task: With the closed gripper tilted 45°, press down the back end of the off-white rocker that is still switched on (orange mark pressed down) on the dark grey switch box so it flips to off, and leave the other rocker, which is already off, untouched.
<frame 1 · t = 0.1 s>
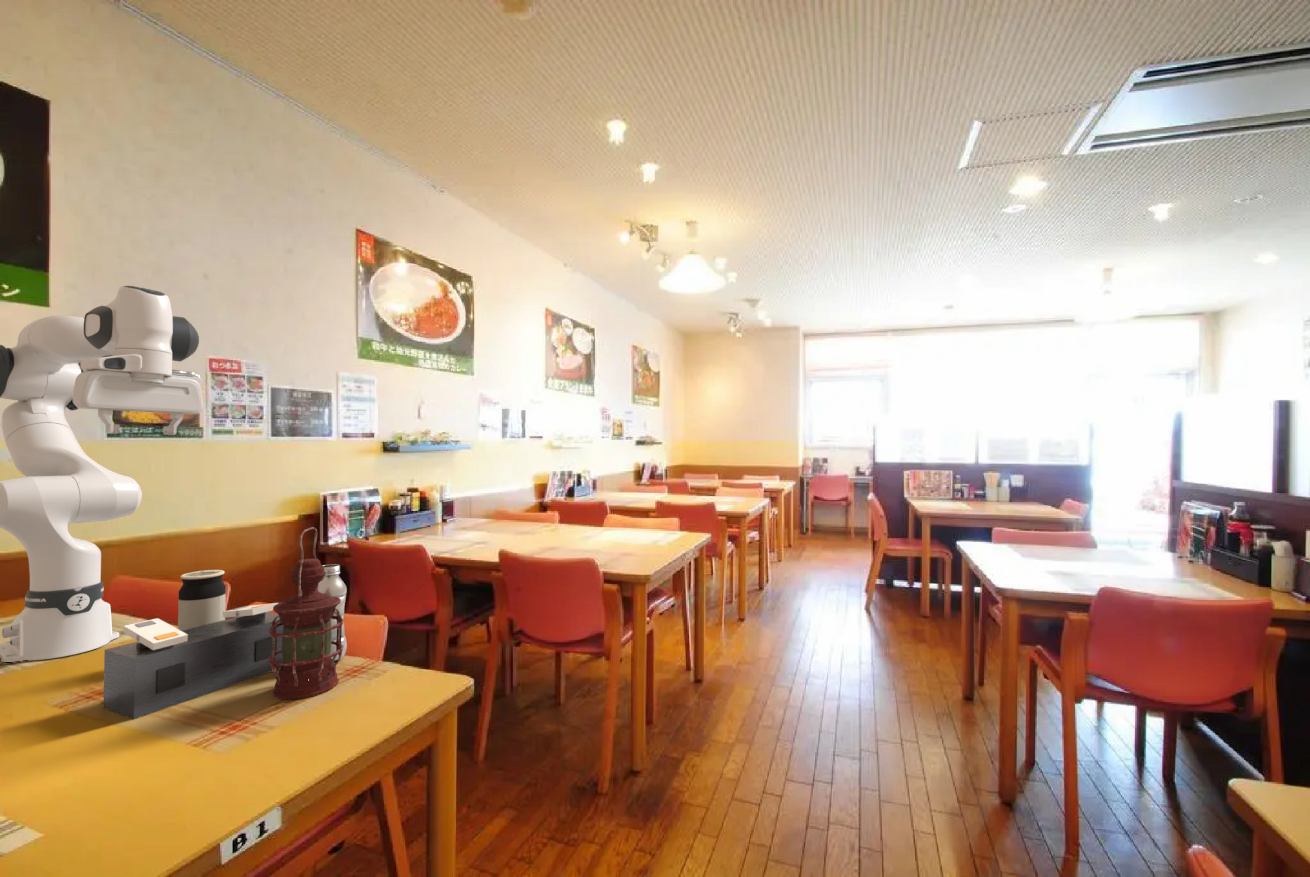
hand: (142, 434, 115), 48 cm above the table, tool pointing down, fingers open, 8 cm apart
travel mug: (201, 657, 122), on the table
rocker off: (250, 609, 115), point 12 cm above the table, hinge at -10.0°
switch box: (205, 684, 108), on the table
lantern: (306, 688, 106), on the table
plastic bottle: (329, 661, 120), on the table
rocker on: (155, 633, 101), point 12 cm above the table, hinge at 10.0°
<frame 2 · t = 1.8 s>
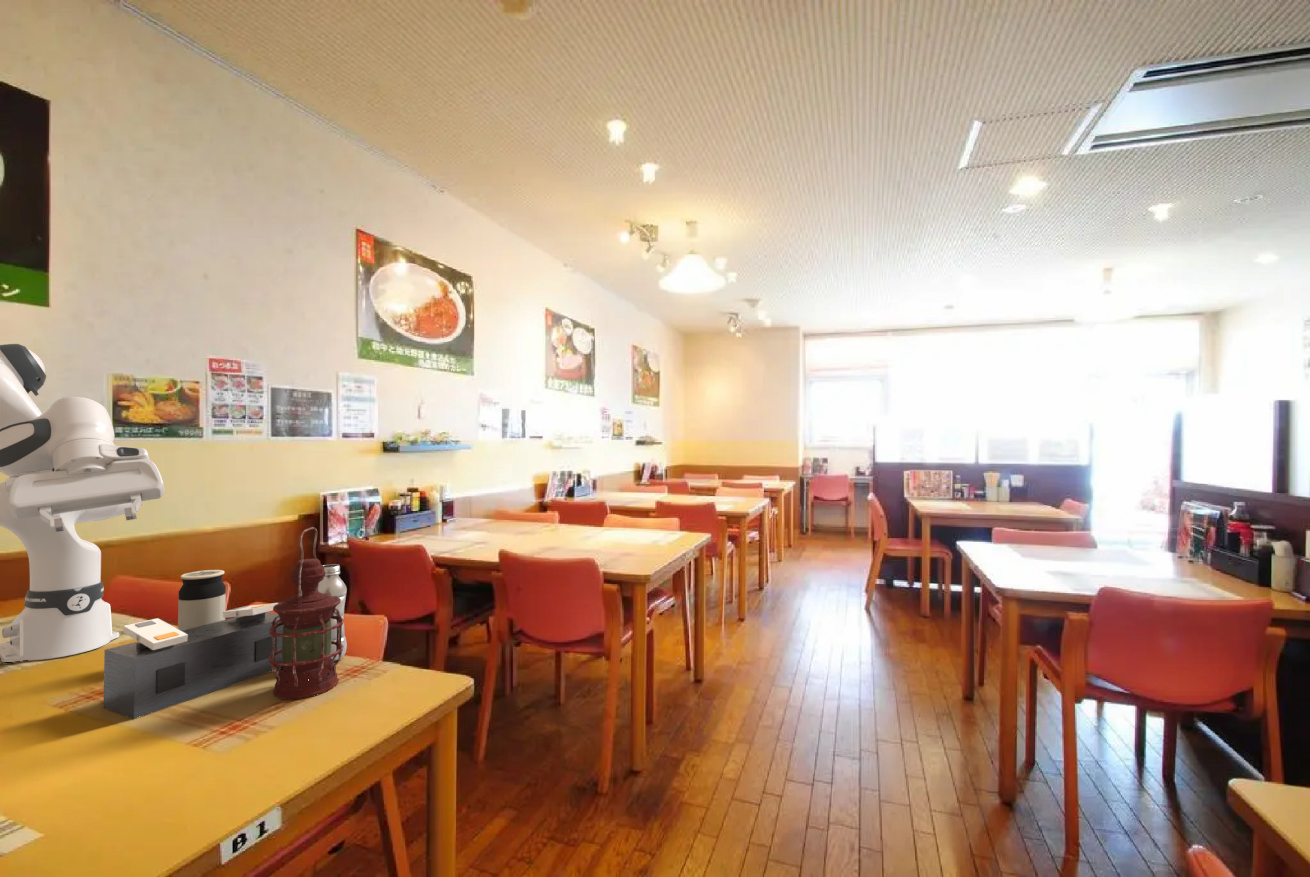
hand: (95, 523, 101), 32 cm above the table, tool tilted 40°, fingers open, 8 cm apart
nothing on the table moved.
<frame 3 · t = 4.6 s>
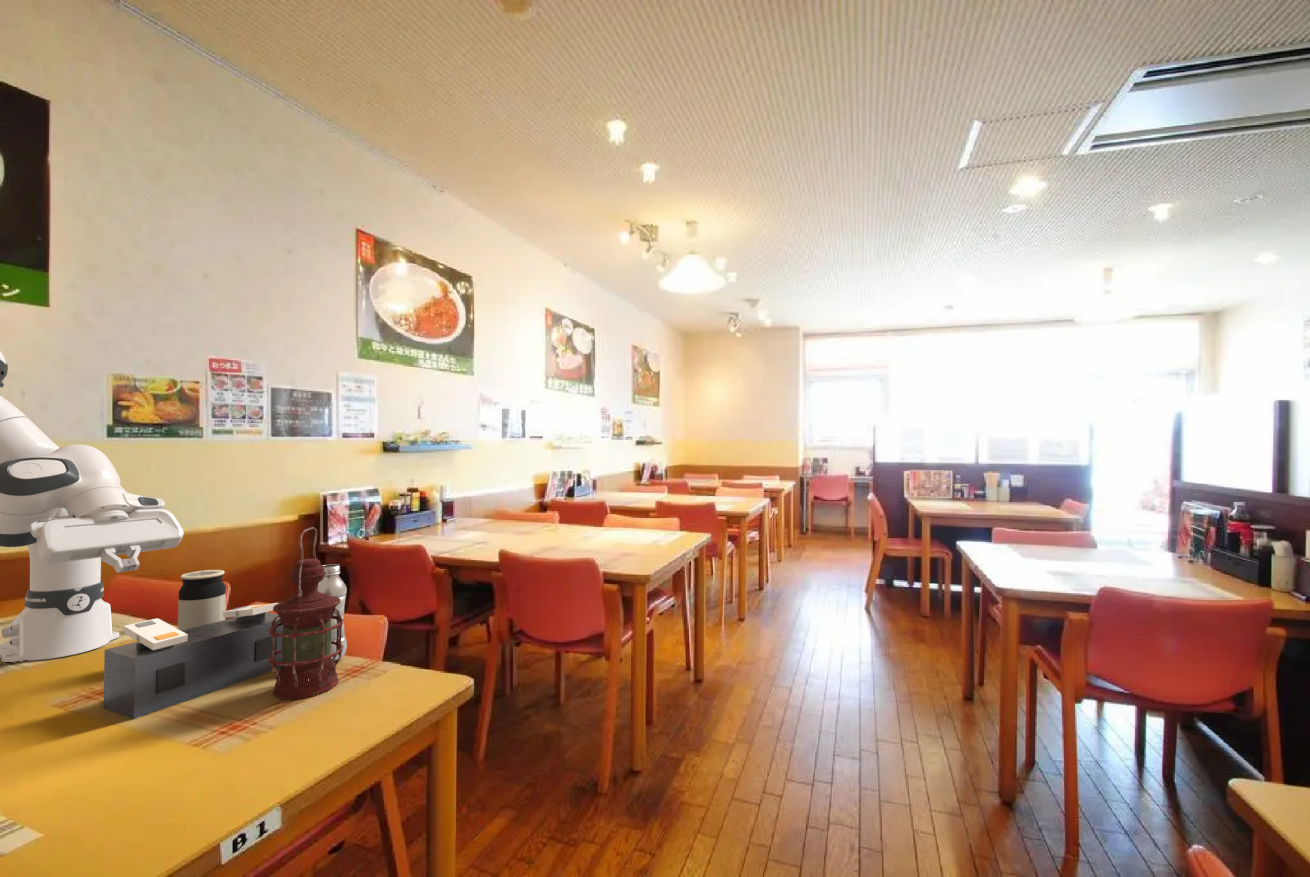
hand: (128, 569, 104), 23 cm above the table, tool tilted 45°, fingers closed
nothing on the table moved.
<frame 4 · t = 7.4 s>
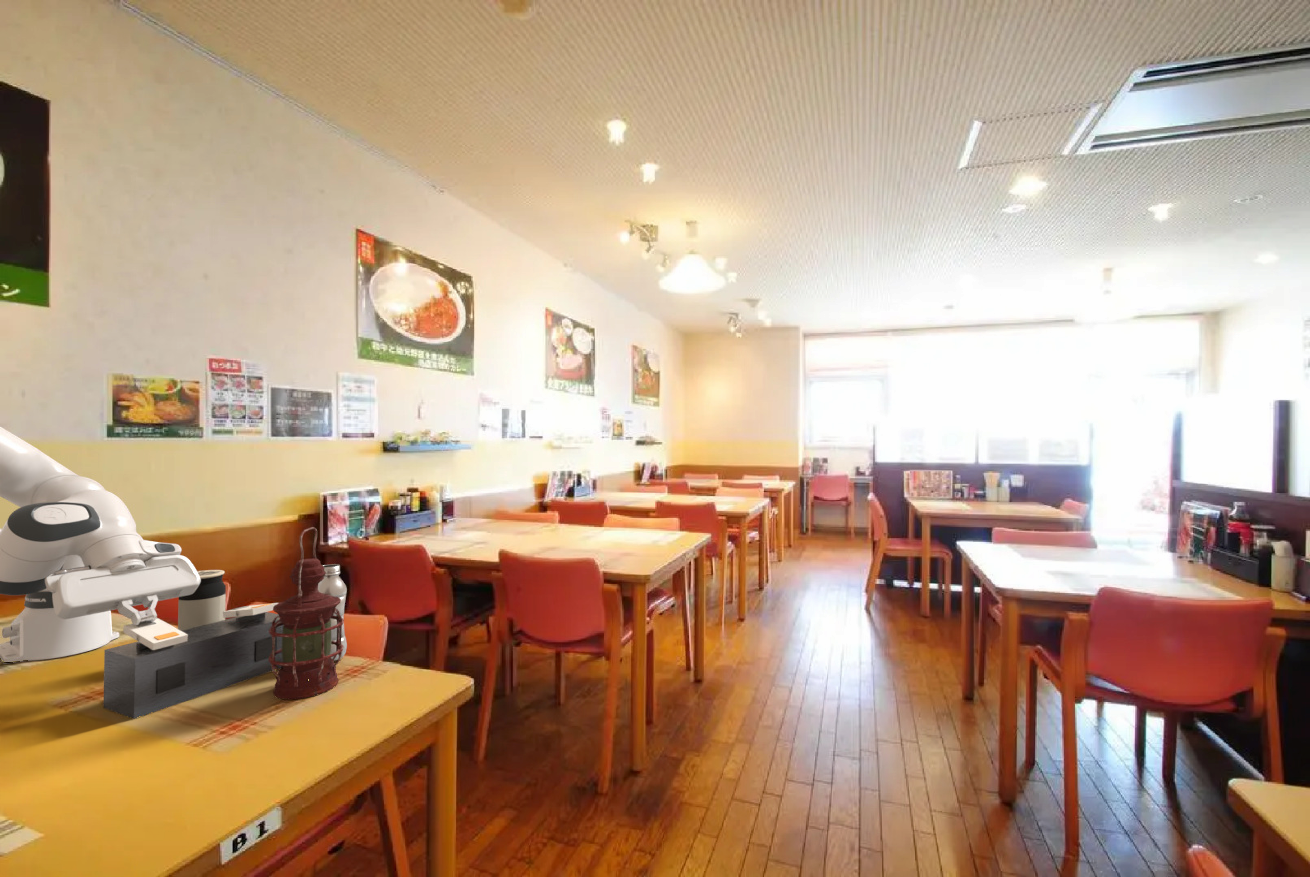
hand: (146, 621, 101), 14 cm above the table, tool tilted 45°, fingers closed, pressing on rocker on
rocker on: (155, 633, 101), point 12 cm above the table, hinge at 10.0°, touching gripper
everything else where it was.
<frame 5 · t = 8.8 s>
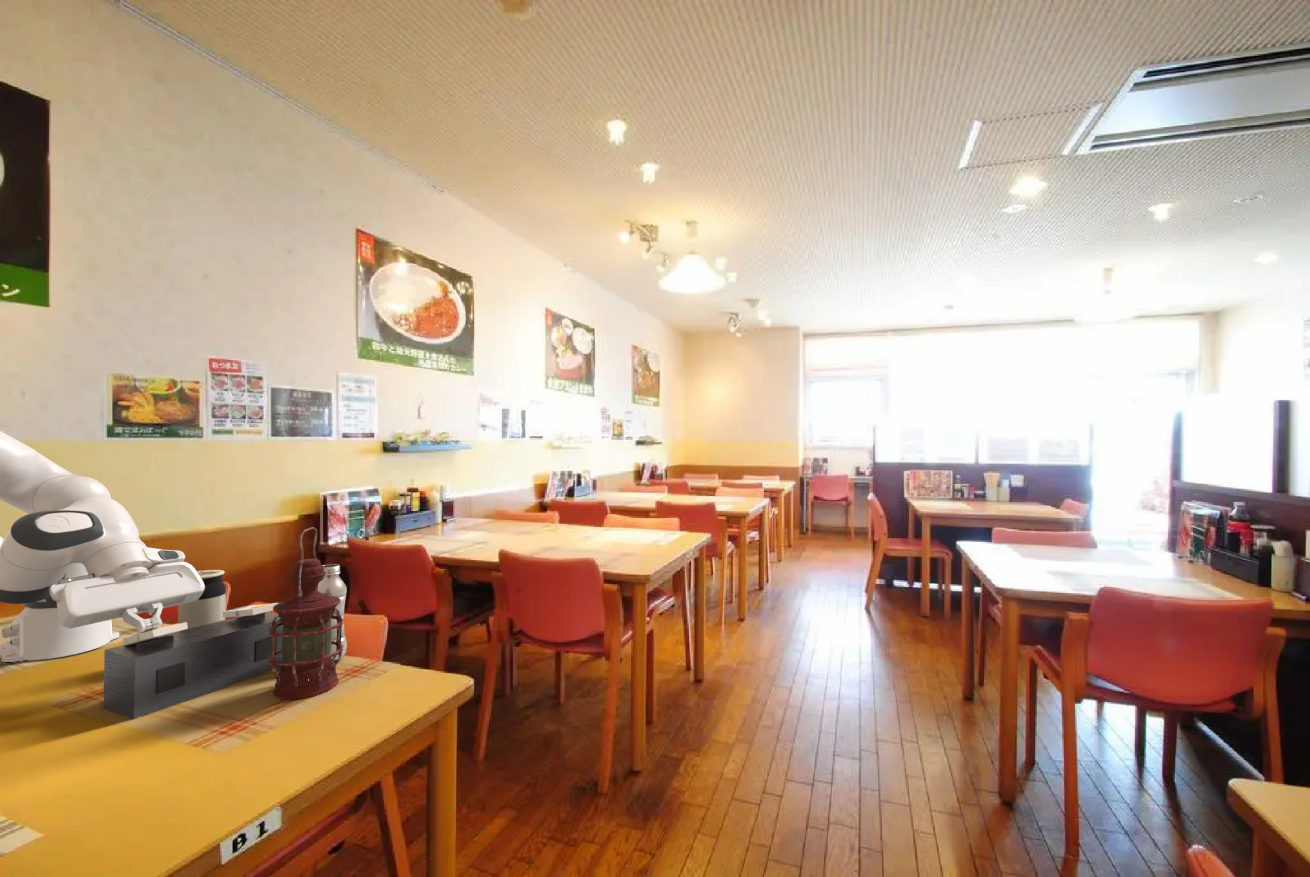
hand: (151, 629, 101), 13 cm above the table, tool tilted 45°, fingers closed, pressing on rocker on
rocker on: (155, 633, 101), point 12 cm above the table, hinge at -15.9°, touching gripper
everything else where it was.
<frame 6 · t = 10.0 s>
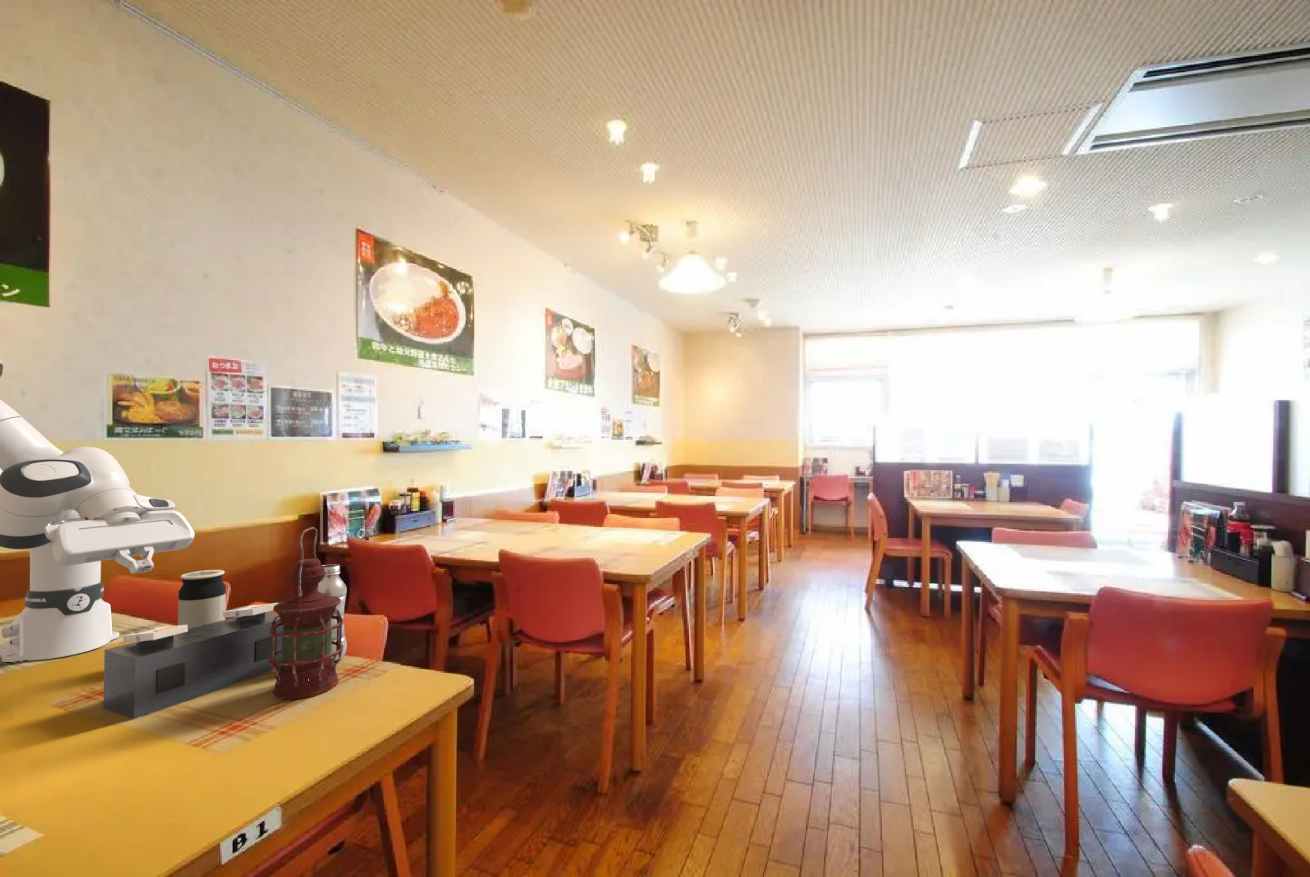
hand: (143, 570, 105), 22 cm above the table, tool tilted 45°, fingers closed
rocker on: (155, 633, 101), point 12 cm above the table, hinge at -10.4°
everything else where it was.
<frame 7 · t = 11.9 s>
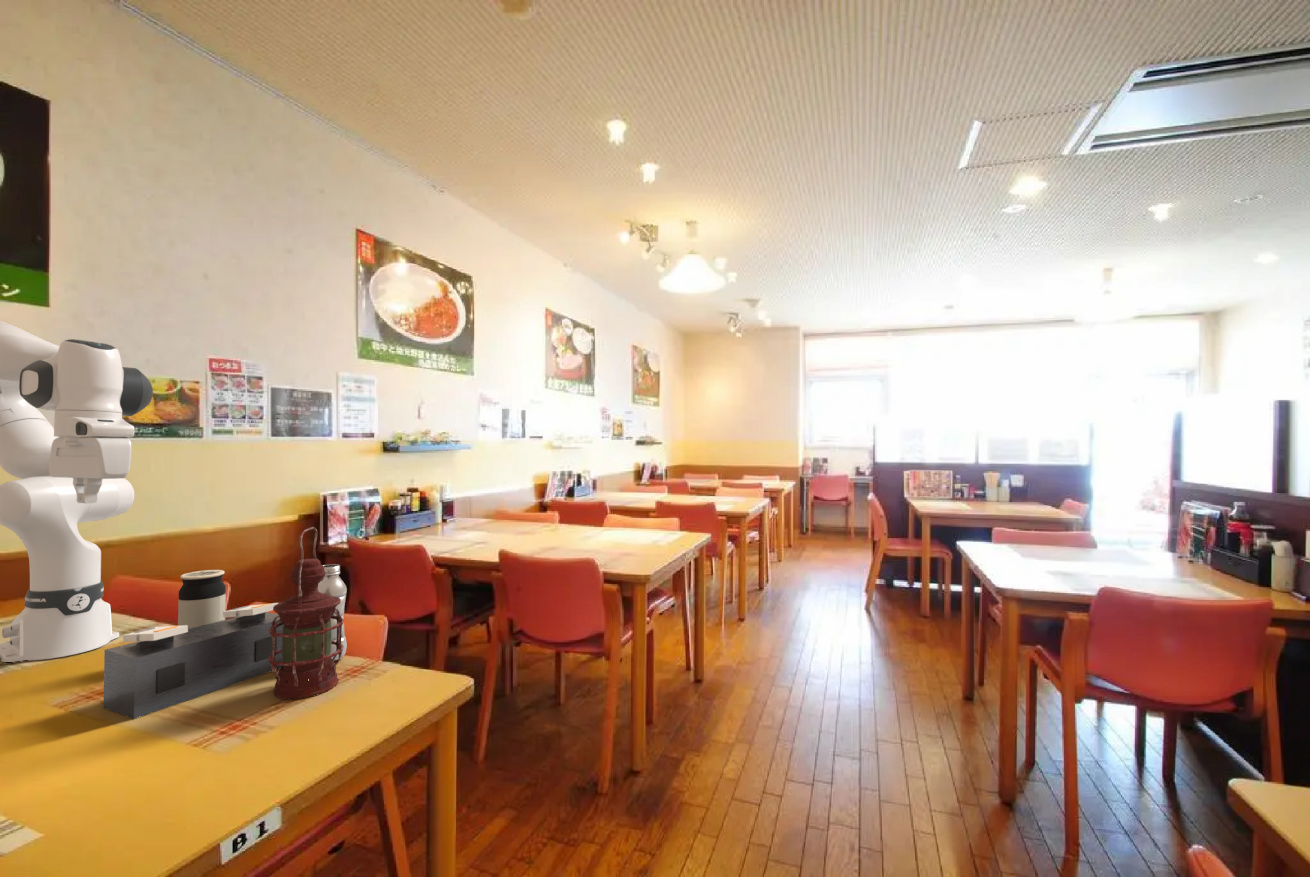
hand: (86, 503, 103), 35 cm above the table, tool pointing down, fingers closed
rocker on: (155, 633, 101), point 12 cm above the table, hinge at -9.1°
everything else where it was.
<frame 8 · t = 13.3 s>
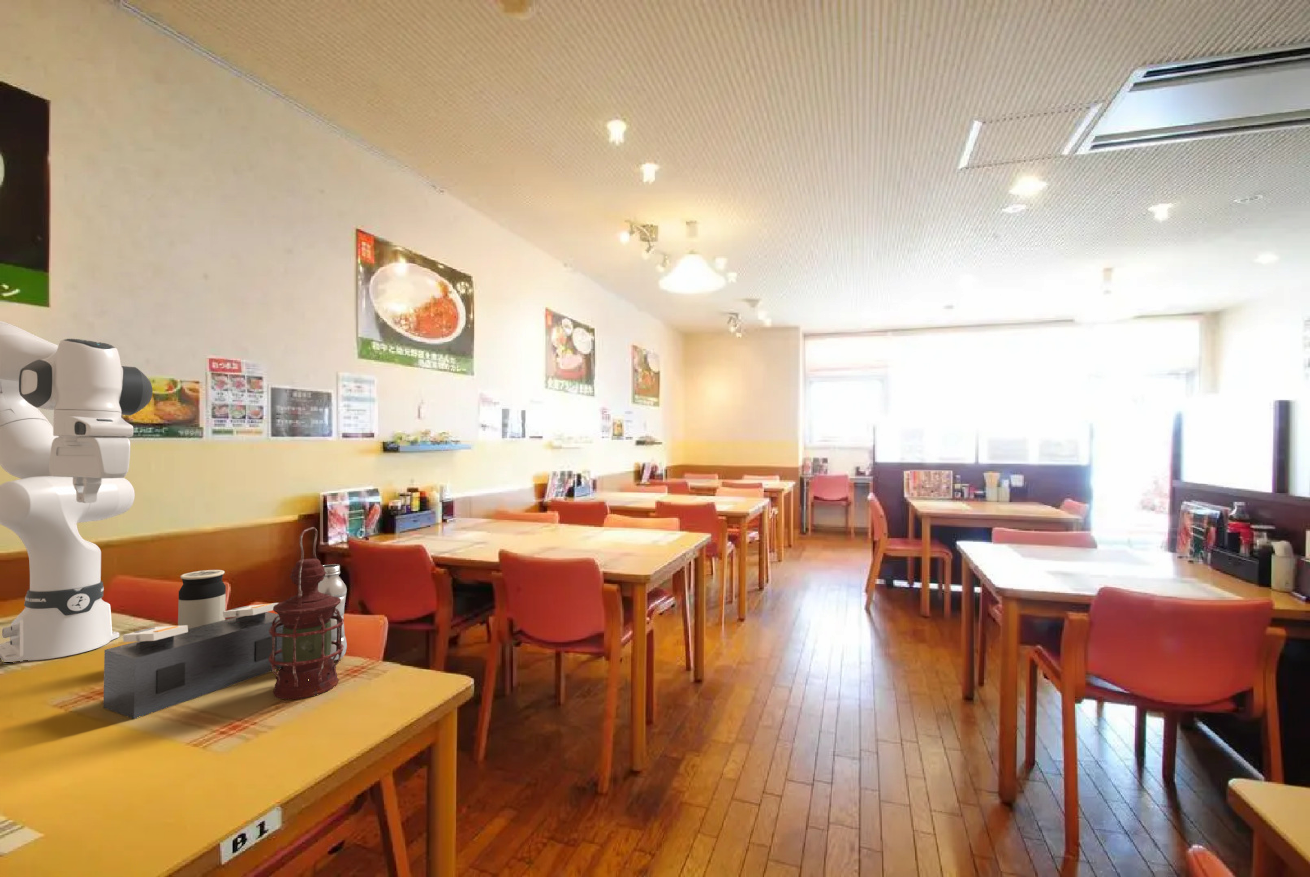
hand: (86, 502, 104), 35 cm above the table, tool pointing down, fingers closed
nothing on the table moved.
at the end: rocker on at -9° (first picture: +10°); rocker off at -10° (first picture: -10°) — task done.
